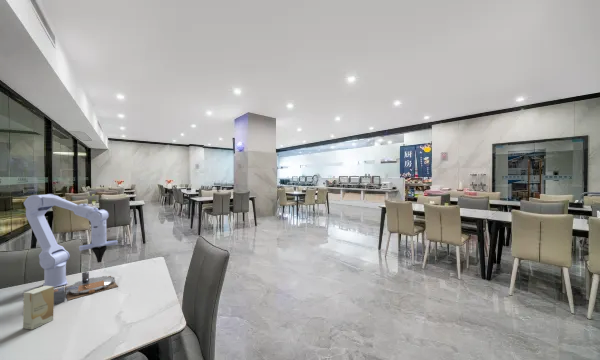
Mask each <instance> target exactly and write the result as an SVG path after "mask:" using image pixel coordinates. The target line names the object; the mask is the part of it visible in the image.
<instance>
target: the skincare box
mask: <svg viewBox="0 0 600 360" xmlns="http://www.w3.org/2000/svg"><path fill="white" fill-rule="evenodd" d="M54 289H55V287H54V286H40V287H37V288H33V289H31V290H28V291H25V292H23V304H22V305H23V308H22V309H23V314H22V328H23V329H25V330H34V329H36V328H39V327H41V326H43V325H45V324H48V323H49V322H51V321H53V320H54V309H55V308H54Z"/></svg>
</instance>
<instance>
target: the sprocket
mask: <svg viewBox="0 0 600 360" xmlns="http://www.w3.org/2000/svg"><path fill="white" fill-rule="evenodd" d="M113 283H116V277H115V276H111V277H108V276H107V275H103V276H99V277H98V276H97V277H90V271H84V272H82V273H81V281H77V282H74V284H73V283H72V284H71V285H72V286H70V285H67V286H68V287H67V288H66V289H65V294H66V295H67V294H74V295H79V294H83V293H92V292H95V291H97V290H100V289H103V288H104V289H105V288H107V287H109V285H111V284H113ZM66 290H67V291H66Z"/></svg>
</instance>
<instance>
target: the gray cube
mask: <svg viewBox="0 0 600 360" xmlns="http://www.w3.org/2000/svg"><path fill="white" fill-rule="evenodd" d="M62 303H65V286H63V287H62V286H61V287H59V288H56V289H55V288H54V305H58V304H62Z"/></svg>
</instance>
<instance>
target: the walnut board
mask: <svg viewBox="0 0 600 360" xmlns="http://www.w3.org/2000/svg"><path fill="white" fill-rule="evenodd" d="M107 277H112V275H108V276H107ZM72 285H73V284H71V285H67V286H66V285H65V286H64V290H65V292H66V291H67V290H66V288H67V287H68V286H72ZM115 288H119V286H118V284H117V283H116V282H115V283H113V284H111V285H109V287H107V288H105V289H104V288H103V289H100V290H97V291H95V292H92V293H83V294H79V295H74V294H66V299H67V301H72V300H74V299H78V298H81V297H82V298H83V297H85V296H90V295H94V294H96V293H97V294H98V293H101V292H103V291H108V290H111V289H115Z"/></svg>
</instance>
